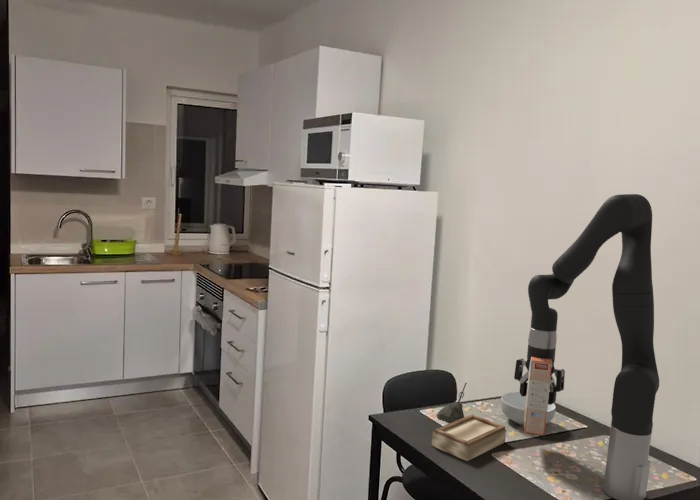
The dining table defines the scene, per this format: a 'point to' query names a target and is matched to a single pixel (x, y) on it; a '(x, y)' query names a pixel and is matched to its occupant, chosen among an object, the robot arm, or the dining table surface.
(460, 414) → the sword in stone
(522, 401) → the cereal bowl
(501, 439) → the wooden box
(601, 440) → the dining table surface
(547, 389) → the cracker box
